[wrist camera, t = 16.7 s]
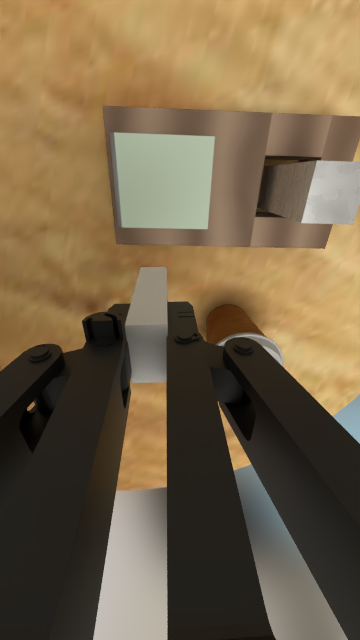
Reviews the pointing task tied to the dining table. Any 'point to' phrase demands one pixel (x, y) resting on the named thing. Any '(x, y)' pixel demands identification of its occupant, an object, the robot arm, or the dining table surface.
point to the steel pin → (312, 191)
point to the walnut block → (239, 170)
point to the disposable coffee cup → (237, 329)
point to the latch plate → (162, 180)
